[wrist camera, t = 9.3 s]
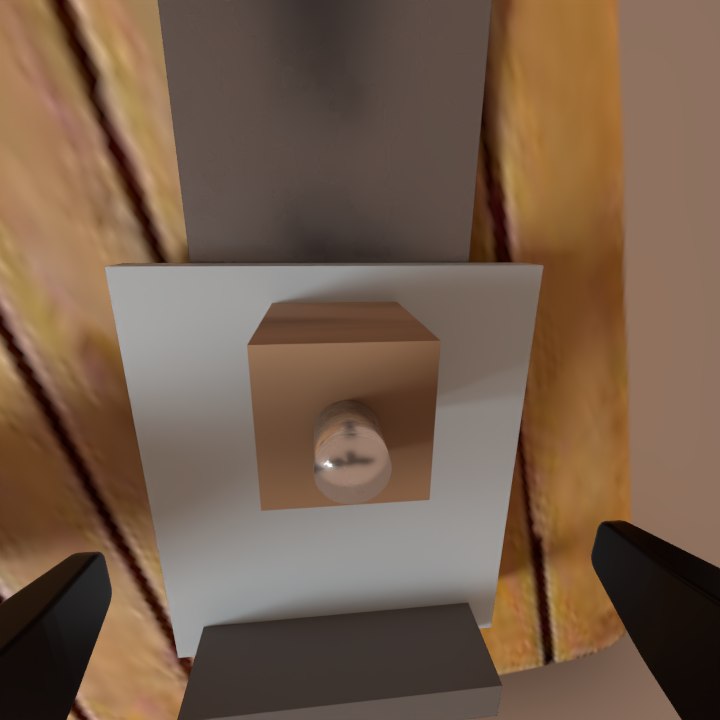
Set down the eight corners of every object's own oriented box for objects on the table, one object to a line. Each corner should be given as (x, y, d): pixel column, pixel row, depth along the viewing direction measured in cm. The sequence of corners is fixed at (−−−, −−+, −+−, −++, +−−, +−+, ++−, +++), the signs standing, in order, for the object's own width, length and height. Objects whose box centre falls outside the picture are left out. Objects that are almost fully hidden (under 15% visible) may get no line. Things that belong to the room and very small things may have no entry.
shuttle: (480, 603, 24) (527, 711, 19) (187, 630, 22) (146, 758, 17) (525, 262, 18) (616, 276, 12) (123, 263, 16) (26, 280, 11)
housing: (393, 413, 18) (450, 550, 10) (279, 418, 17) (250, 565, 10) (397, 301, 16) (468, 365, 9) (271, 303, 16) (231, 372, 8)
